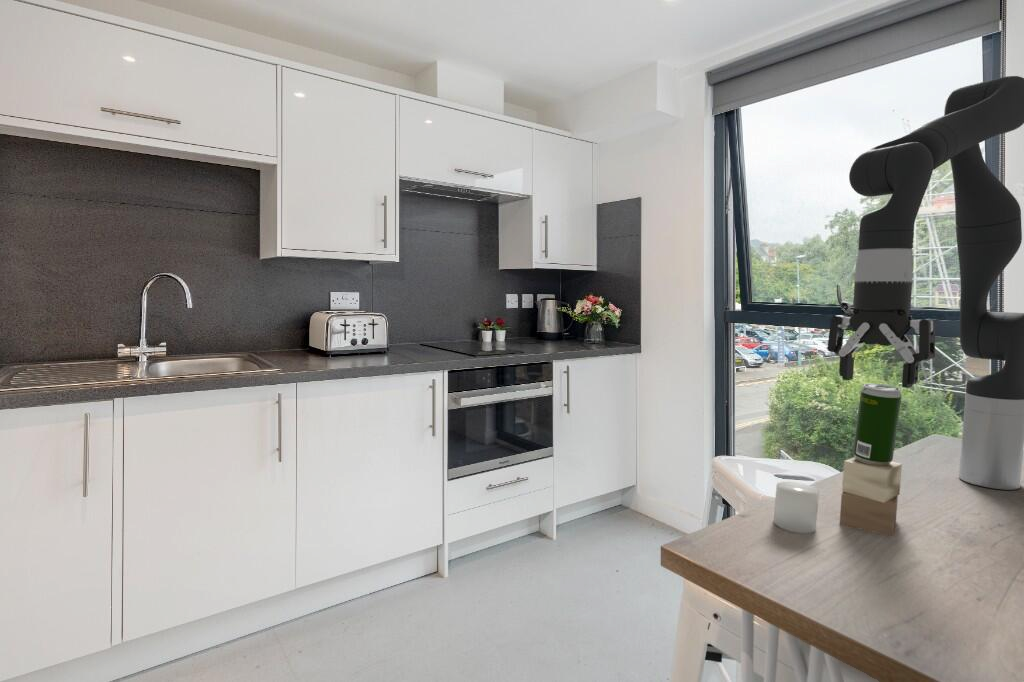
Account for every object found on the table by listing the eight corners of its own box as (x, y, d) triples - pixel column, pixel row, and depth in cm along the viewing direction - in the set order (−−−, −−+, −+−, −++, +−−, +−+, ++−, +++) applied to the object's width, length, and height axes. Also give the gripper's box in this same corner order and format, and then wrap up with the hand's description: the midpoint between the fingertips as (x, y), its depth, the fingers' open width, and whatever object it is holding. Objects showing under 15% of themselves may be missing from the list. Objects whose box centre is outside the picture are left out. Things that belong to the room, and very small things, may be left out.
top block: (858, 483, 95) (860, 454, 95) (899, 494, 91) (901, 463, 90) (842, 491, 92) (844, 460, 91) (884, 502, 87) (886, 470, 86)
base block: (846, 511, 96) (848, 482, 96) (895, 521, 92) (898, 491, 92) (839, 524, 91) (841, 494, 90) (892, 536, 87) (894, 504, 86)
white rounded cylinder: (780, 514, 94) (783, 478, 94) (820, 525, 90) (823, 488, 90) (768, 524, 90) (771, 487, 89) (809, 537, 86) (812, 498, 85)
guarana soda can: (882, 469, 87) (893, 392, 85) (845, 458, 92) (855, 385, 90) (898, 462, 90) (908, 388, 88) (861, 452, 95) (871, 381, 93)
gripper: (947, 279, 85) (938, 387, 86) (845, 280, 96) (839, 375, 98) (927, 278, 80) (919, 392, 82) (823, 279, 92) (818, 379, 93)
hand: (876, 383), depth 90 cm, fingers open, 8 cm apart
